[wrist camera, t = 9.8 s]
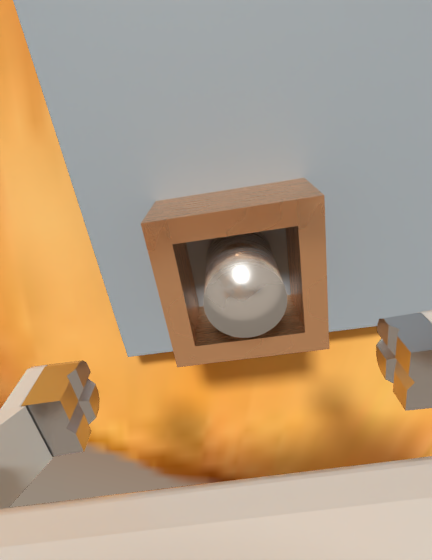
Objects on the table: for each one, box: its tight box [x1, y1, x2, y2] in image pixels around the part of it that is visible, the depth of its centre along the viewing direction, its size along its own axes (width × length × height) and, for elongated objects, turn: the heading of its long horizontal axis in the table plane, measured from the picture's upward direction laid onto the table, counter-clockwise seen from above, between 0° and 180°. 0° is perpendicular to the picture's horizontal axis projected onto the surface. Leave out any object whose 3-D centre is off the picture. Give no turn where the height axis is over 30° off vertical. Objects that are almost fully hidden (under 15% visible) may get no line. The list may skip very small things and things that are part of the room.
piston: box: [203, 232, 287, 338], centre depth 16 cm, size 3×3×4 cm
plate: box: [13, 0, 432, 357], centre depth 16 cm, size 20×20×2 cm
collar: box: [141, 178, 329, 367], centre depth 16 cm, size 7×7×4 cm
